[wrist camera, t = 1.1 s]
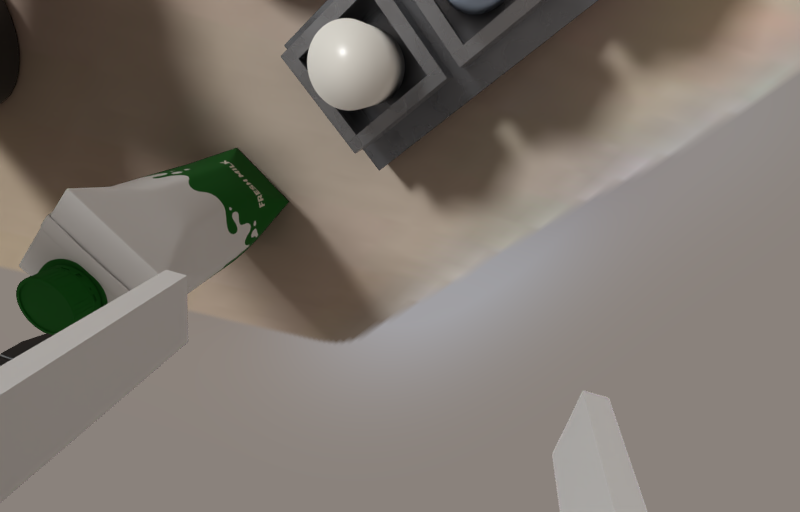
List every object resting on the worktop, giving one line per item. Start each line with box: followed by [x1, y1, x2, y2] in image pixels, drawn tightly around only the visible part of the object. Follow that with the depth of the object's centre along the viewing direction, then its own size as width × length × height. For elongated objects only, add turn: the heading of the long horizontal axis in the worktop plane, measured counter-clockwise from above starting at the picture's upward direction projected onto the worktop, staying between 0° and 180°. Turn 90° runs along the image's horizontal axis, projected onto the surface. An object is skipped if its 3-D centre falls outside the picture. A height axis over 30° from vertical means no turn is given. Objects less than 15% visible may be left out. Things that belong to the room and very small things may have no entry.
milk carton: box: [16, 148, 289, 335], centre depth 34 cm, size 9×9×20 cm
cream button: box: [307, 18, 405, 111], centre depth 28 cm, size 5×5×5 cm
